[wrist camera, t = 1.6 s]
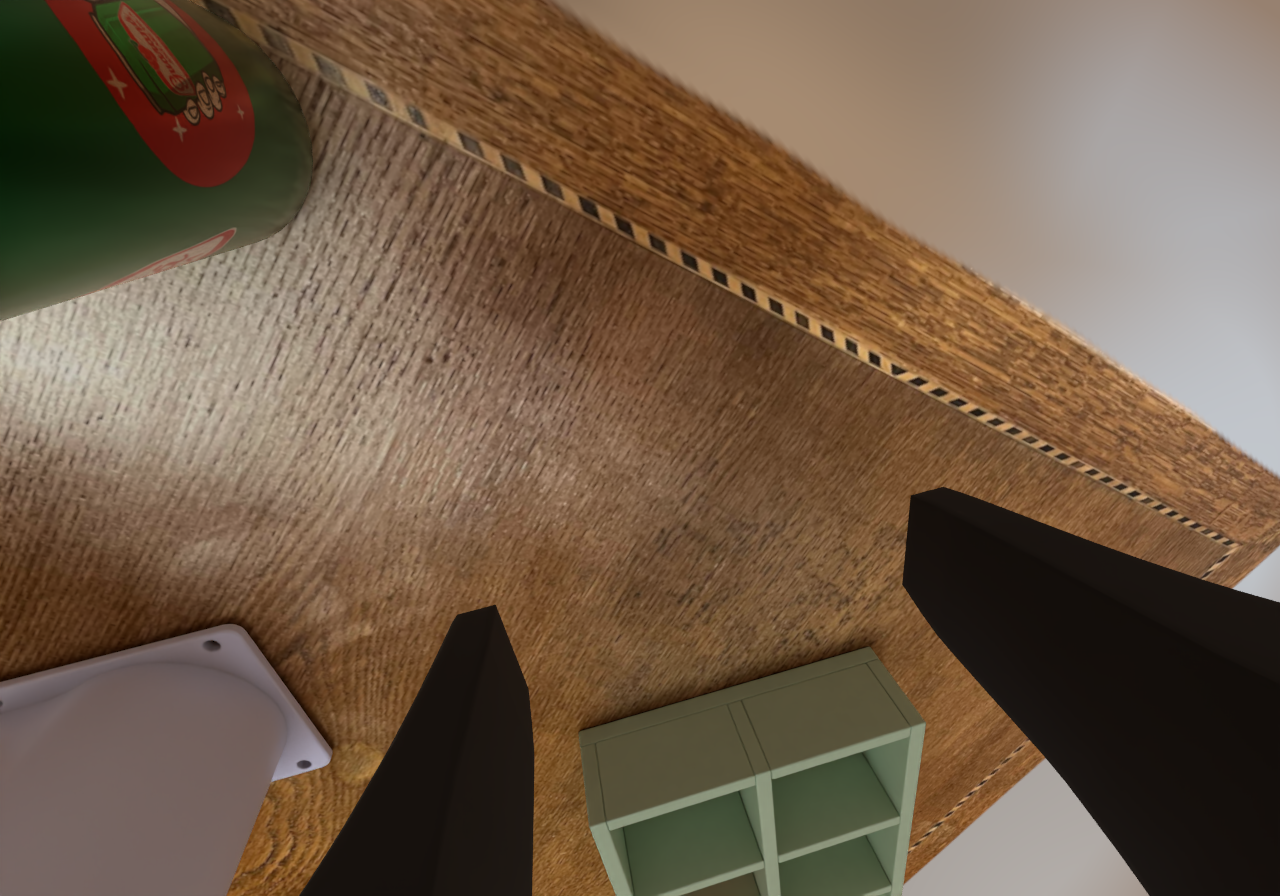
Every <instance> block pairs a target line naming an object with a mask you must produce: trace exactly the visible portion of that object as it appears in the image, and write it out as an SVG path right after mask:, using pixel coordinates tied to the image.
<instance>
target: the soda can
mask: <svg viewBox="0 0 1280 896" xmlns="http://www.w3.org/2000/svg"><path fill="white" fill-rule="evenodd" d="M312 166H313V156H312V144H311V139H310V135H309V130H308V126H307V123H306V120H305V117H304V115H303V112H302V109H301V107H300V104H299V102H298V100H297V99H296V97H295V95H294V93H293V91H292V89H291V87H290V85H289V84H288V82H287V81H286V80H285V78H284V77H283V75H282V74H281V72H280V71H279V70H278V68H277V67H276V65H275V64H274V63H273V62H272V61H271V60H270V59H269V57H268V56H267V55H266V54H265V53H264V52H263V51H262V50H261V48H260V47H258V46H257V45H256V44H255V43H254V42H253V41H252V40H251V39H249V38H248V37H247V36H246V35H245V34H244V33H243V32H241V31H240V30H239V29H237V28H236V27H234V26H233V25H232V24H230V23H229V22H227V21H226V20H224V19H223V18H221V17H220V16H218V15H216V14H214V13H212V12H210V11H208V10H206V9H205V8H203V7H201V6H199V5H197V4H195V3H193V2H191V1H189V0H0V321H3V320H6V319H9V318H13V317H16V316H19V315H22V314H26V313H29V312H32V311H35V310H39V309H42V308H45V307H49V306H52V305H55V304H58V303H62V302H65V301H68V300H71V299H75V298H78V297H81V296H84V295H88V294H91V293H94V292H97V291H101V290H104V289H107V288H110V287H114V286H117V285H120V284H123V283H127V282H130V281H133V280H136V279H140V278H143V277H146V276H149V275H153V274H156V273H159V272H162V271H166V270H169V269H172V268H175V267H179V266H182V265H185V264H188V263H192V262H195V261H198V260H202V259H205V258H208V257H211V256H215V255H218V254H221V253H224V252H228V251H231V250H234V249H237V248H241V247H244V246H247V245H250V244H253V243H256V242H259V241H262V240H264V239H267V238H269V237H271V236H272V235H274V234H276V233H277V232H279V231H281V230H282V229H283V228H284V227H285V226H286V225H287V224H288V223H290V222H291V221H292V219H293V218H294V217H295V215H296V214H297V213H298V211H299V210H300V209H301V207H302V205H303V202H304V200H305V198H306V196H307V194H308V190H309V186H310V182H311V178H312Z"/></svg>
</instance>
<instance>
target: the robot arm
mask: <svg viewBox="0 0 1280 896" xmlns="http://www.w3.org/2000/svg"><path fill="white" fill-rule="evenodd" d="M902 585H903V586H904V588H905V589H906V591H907V592H908V594H909V595H910V597H911V598H912V600H913V601H914V603H915V604H916V606H917V607H918V609H919V610H920V612H921V613H922V615H923V616H924V617H925V619H926V620H927V622H928V623H929V624H930V626H931V627H932V629H933V630H934V631H935V633H936V634H937V635H938V637H939V638H940V639H941V640H942V641H943V642H944V644H945V645H946V646H947V647H948V648H949V649H950V651H951V652H952V653H953V654H954V655H955V656H956V657H957V659H958V660H959V661H960V662H961V663H962V664H963V665H964V667H965V668H966V669H967V670H968V671H969V672H970V673H971V674H972V676H973V677H974V678H975V679H976V680H977V681H978V682H979V683H980V685H981V686H982V687H983V688H984V689H985V690H986V691H987V692H988V694H989V695H990V696H991V697H992V698H993V699H994V700H995V701H996V702H997V704H998V705H999V706H1000V707H1001V708H1002V709H1003V710H1004V711H1005V713H1006V714H1007V715H1008V716H1009V717H1010V718H1011V719H1012V720H1013V722H1014V723H1015V724H1016V725H1017V726H1018V727H1019V728H1020V729H1021V730H1022V732H1023V733H1024V734H1025V735H1026V736H1027V737H1028V738H1029V739H1030V741H1031V742H1032V743H1033V744H1034V745H1035V746H1036V747H1037V748H1038V749H1039V751H1040V752H1041V753H1042V754H1043V755H1044V756H1045V758H1046V759H1047V760H1048V761H1049V762H1050V764H1051V765H1052V766H1053V767H1054V768H1055V770H1056V771H1057V772H1058V773H1059V774H1060V776H1061V777H1062V778H1063V779H1064V780H1065V782H1066V783H1067V784H1068V786H1069V787H1070V788H1071V790H1072V791H1073V792H1074V793H1075V795H1076V796H1077V797H1078V799H1079V800H1080V801H1081V803H1082V804H1083V805H1084V807H1085V808H1086V809H1087V811H1088V812H1089V813H1090V815H1091V816H1092V817H1093V819H1094V820H1095V821H1096V823H1097V824H1098V825H1099V827H1100V828H1101V829H1102V831H1103V832H1104V833H1105V835H1106V836H1107V837H1108V839H1109V840H1110V841H1111V843H1112V844H1113V845H1114V847H1115V848H1116V849H1117V851H1118V852H1119V854H1120V855H1121V856H1122V858H1123V859H1124V860H1125V862H1126V863H1127V865H1128V866H1129V867H1130V869H1131V870H1132V871H1133V873H1134V874H1135V876H1136V877H1137V879H1138V880H1139V882H1140V883H1141V884H1142V886H1143V887H1144V888H1145V890H1146V891H1147V893H1148V894H1149V896H1280V602H1276V601H1272V600H1269V599H1265V598H1262V597H1258V596H1254V595H1251V594H1248V593H1244V592H1241V591H1237V590H1234V589H1231V588H1228V587H1224V586H1221V585H1218V584H1215V583H1211V582H1208V581H1205V580H1202V579H1199V578H1196V577H1193V576H1190V575H1187V574H1184V573H1181V572H1178V571H1175V570H1172V569H1169V568H1166V567H1163V566H1160V565H1157V564H1154V563H1151V562H1148V561H1145V560H1142V559H1139V558H1136V557H1133V556H1130V555H1128V554H1125V553H1122V552H1119V551H1116V550H1114V549H1111V548H1108V547H1105V546H1103V545H1100V544H1097V543H1094V542H1092V541H1089V540H1086V539H1083V538H1081V537H1078V536H1075V535H1073V534H1070V533H1067V532H1065V531H1062V530H1059V529H1057V528H1054V527H1052V526H1049V525H1046V524H1044V523H1041V522H1038V521H1036V520H1033V519H1031V518H1028V517H1025V516H1023V515H1020V514H1018V513H1015V512H1012V511H1010V510H1007V509H1004V508H1002V507H999V506H996V505H994V504H991V503H988V502H986V501H983V500H980V499H978V498H975V497H972V496H969V495H966V494H964V493H961V492H958V491H954V490H951V489H948V488H945V487H941V488H938V489H934V490H930V491H926V492H922V493H918V494H915V495H911V500H910V510H909V521H908V531H907V541H906V552H905V562H904V572H903V583H902ZM210 640H213V641H217V642H218V643H215V642H212V641H210ZM332 753H333V752H332V749H331V748H330V746H329V745H328V744H327V742H326V741H325V740H324V738H323V737H322V735H321V734H320V733H319V731H318V730H317V728H316V727H315V726H314V724H313V723H312V722H311V720H310V719H309V717H308V716H307V715H306V713H305V712H304V710H303V709H302V708H301V706H300V705H299V704H298V702H297V701H296V699H295V698H294V697H293V695H292V694H291V692H290V691H289V690H288V688H287V687H286V686H285V684H284V683H283V681H282V680H281V679H280V677H279V676H278V674H277V673H276V672H275V670H274V669H273V668H272V666H271V665H270V663H269V662H268V661H267V659H266V658H265V656H264V655H263V654H262V652H261V651H260V650H259V648H258V647H257V645H256V644H255V643H254V641H253V640H252V638H251V637H250V636H249V634H248V633H247V632H246V630H245V629H243V628H242V627H241V626H238V625H235V624H224V625H220V626H216V627H212V628H208V629H204V630H201V631H197V632H193V633H189V634H185V635H181V636H177V637H173V638H170V639H166V640H162V641H158V642H154V643H150V644H146V645H142V646H139V647H135V648H131V649H127V650H123V651H119V652H115V653H111V654H107V655H104V656H100V657H96V658H92V659H88V660H84V661H80V662H76V663H73V664H69V665H65V666H61V667H57V668H53V669H49V670H45V671H41V672H38V673H34V674H30V675H26V676H22V677H18V678H14V679H10V680H7V681H3V682H0V896H226V895H227V892H228V890H229V887H230V885H231V882H232V880H233V877H234V874H235V872H236V869H237V867H238V864H239V862H240V859H241V857H242V854H243V852H244V849H245V846H246V844H247V841H248V839H249V836H250V834H251V831H252V829H253V826H254V824H255V821H256V818H257V816H258V813H259V811H260V808H261V806H262V803H263V801H264V798H265V796H266V793H267V790H268V788H269V785H270V783H271V782H272V781H276V780H279V779H283V778H286V777H290V776H293V775H297V774H300V773H304V772H307V771H311V770H314V769H318V768H321V767H324V766H326V765H327V764H328V763H329V762H330V760H331V756H332ZM533 815H534V743H533V731H532V720H531V710H530V700H529V690H528V687H527V684H526V681H525V679H524V676H523V674H522V671H521V669H520V666H519V664H518V661H517V658H516V656H515V653H514V651H513V648H512V646H511V643H510V640H509V638H508V635H507V633H506V630H505V628H504V625H503V622H502V620H501V617H500V615H499V612H498V610H497V607H496V605H493V606H489V607H485V608H481V609H477V610H474V611H470V612H466V613H462V614H458V615H457V616H456V618H455V619H454V621H453V622H452V624H451V626H450V628H449V630H448V633H447V635H446V637H445V639H444V641H443V643H442V645H441V647H440V649H439V652H438V654H437V656H436V658H435V660H434V662H433V664H432V666H431V668H430V670H429V672H428V674H427V676H426V678H425V680H424V682H423V684H422V686H421V688H420V690H419V692H418V694H417V696H416V698H415V700H414V702H413V704H412V706H411V708H410V710H409V712H408V713H407V715H406V717H405V719H404V721H403V723H402V725H401V727H400V729H399V730H398V732H397V734H396V736H395V738H394V740H393V742H392V744H391V746H390V747H389V749H388V751H387V753H386V755H385V756H384V758H383V760H382V762H381V764H380V765H379V767H378V769H377V770H376V772H375V774H374V776H373V777H372V779H371V781H370V782H369V784H368V786H367V788H366V789H365V791H364V793H363V794H362V796H361V798H360V800H359V801H358V803H357V805H356V806H355V808H354V810H353V812H352V813H351V815H350V817H349V818H348V820H347V822H346V823H345V825H344V827H343V828H342V830H341V832H340V833H339V835H338V836H337V838H336V840H335V841H334V843H333V844H332V846H331V848H330V849H329V851H328V852H327V854H326V856H325V857H324V859H323V860H322V862H321V863H320V865H319V866H318V868H317V870H316V871H315V873H314V874H313V876H312V877H311V879H310V880H309V882H308V883H307V885H306V886H305V888H304V889H303V891H302V892H301V894H300V895H299V896H532V869H533Z"/></svg>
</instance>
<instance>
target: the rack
mask: <svg viewBox="0 0 1280 896" xmlns="http://www.w3.org/2000/svg"><path fill="white" fill-rule="evenodd" d="M925 726H926V722H925V721H924V719H923V718H922V717H921V715H920V714H919V713H918V711H917V710H916V709H915V707H914V706H913V704H912V703H911V702H910V700H909V699H908V698H907V696H906V695H905V694H904V692H903V691H902V689H901V688H900V687H899V685H898V684H897V683H896V681H895V680H894V679H893V677H892V676H891V674H890V673H889V672H888V670H887V669H886V668H885V666H884V665H883V664H882V662H881V661H880V660H879V659H878V657H877V655H876V654H875V653H874V651H873V650H872V649H871V647H866V648H863V649H859V650H856V651H852V652H849V653H846V654H842V655H839V656H835V657H832V658H829V659H825V660H822V661H818V662H815V663H811V664H808V665H805V666H801V667H798V668H794V669H791V670H788V671H784V672H781V673H777V674H774V675H771V676H767V677H764V678H760V679H757V680H754V681H750V682H747V683H743V684H740V685H737V686H733V687H730V688H726V689H723V690H720V691H716V692H713V693H709V694H706V695H702V696H699V697H696V698H692V699H689V700H685V701H682V702H679V703H675V704H672V705H668V706H665V707H662V708H658V709H655V710H651V711H648V712H645V713H641V714H638V715H634V716H631V717H628V718H624V719H621V720H617V721H614V722H611V723H607V724H604V725H600V726H597V727H594V728H590V729H587V730H583V731H580V732H579V740H580V747H581V758H582V767H583V776H584V785H585V793H586V802H587V811H588V820H589V827H590V830H591V833H592V835H593V838H594V840H595V843H596V845H597V848H598V851H599V853H600V856H601V858H602V861H603V863H604V866H605V868H606V871H607V874H608V876H609V879H610V881H611V884H612V886H613V889H614V892H615V894H616V896H902V888H903V882H904V875H905V868H906V861H907V854H908V846H909V839H910V832H911V825H912V818H913V811H914V804H915V797H916V790H917V783H918V776H919V769H920V761H921V754H922V747H923V740H924V733H925Z"/></svg>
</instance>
